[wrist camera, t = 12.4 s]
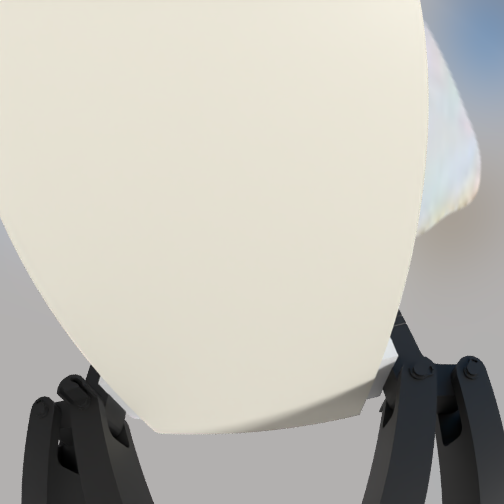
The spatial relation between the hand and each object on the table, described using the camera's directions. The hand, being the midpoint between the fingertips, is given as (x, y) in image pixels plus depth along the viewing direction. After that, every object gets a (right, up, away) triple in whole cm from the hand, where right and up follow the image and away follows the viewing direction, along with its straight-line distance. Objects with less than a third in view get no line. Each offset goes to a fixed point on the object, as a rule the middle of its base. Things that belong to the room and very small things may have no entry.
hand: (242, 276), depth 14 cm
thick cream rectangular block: (-1, +4, -6) cm, 7 cm away
